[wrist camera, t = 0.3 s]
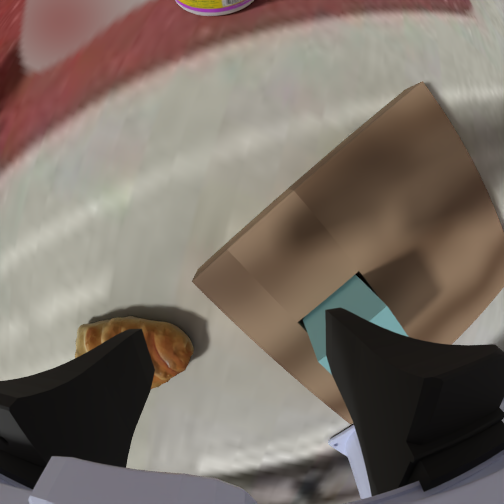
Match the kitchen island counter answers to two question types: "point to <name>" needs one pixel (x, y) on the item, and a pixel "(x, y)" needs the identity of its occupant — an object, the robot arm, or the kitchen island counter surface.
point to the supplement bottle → (213, 6)
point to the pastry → (157, 339)
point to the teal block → (356, 301)
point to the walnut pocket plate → (367, 241)
